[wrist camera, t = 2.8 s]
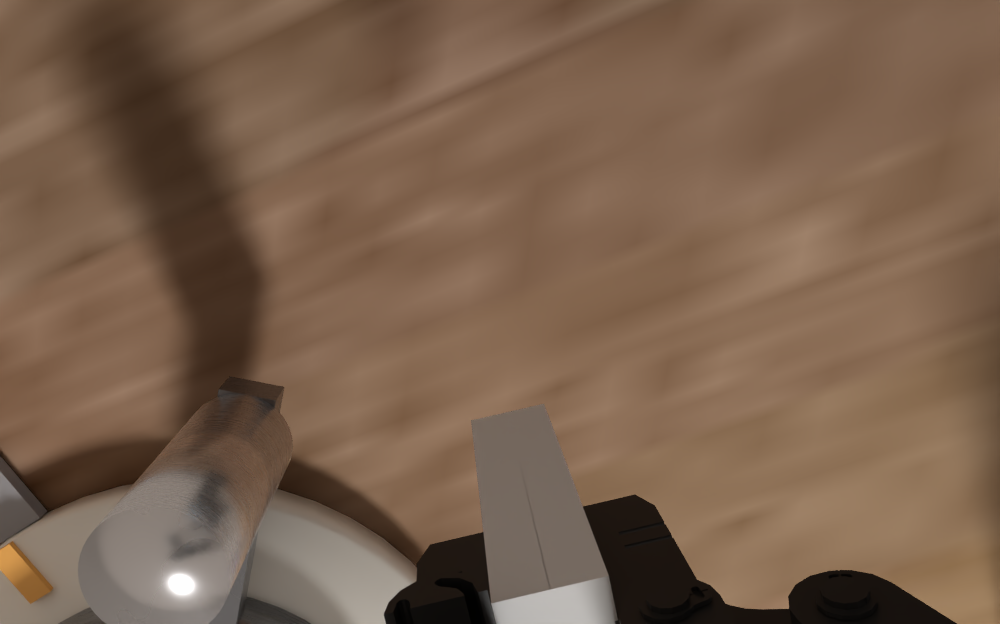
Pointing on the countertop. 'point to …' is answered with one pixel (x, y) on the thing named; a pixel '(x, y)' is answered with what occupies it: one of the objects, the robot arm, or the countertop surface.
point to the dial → (193, 521)
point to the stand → (274, 575)
